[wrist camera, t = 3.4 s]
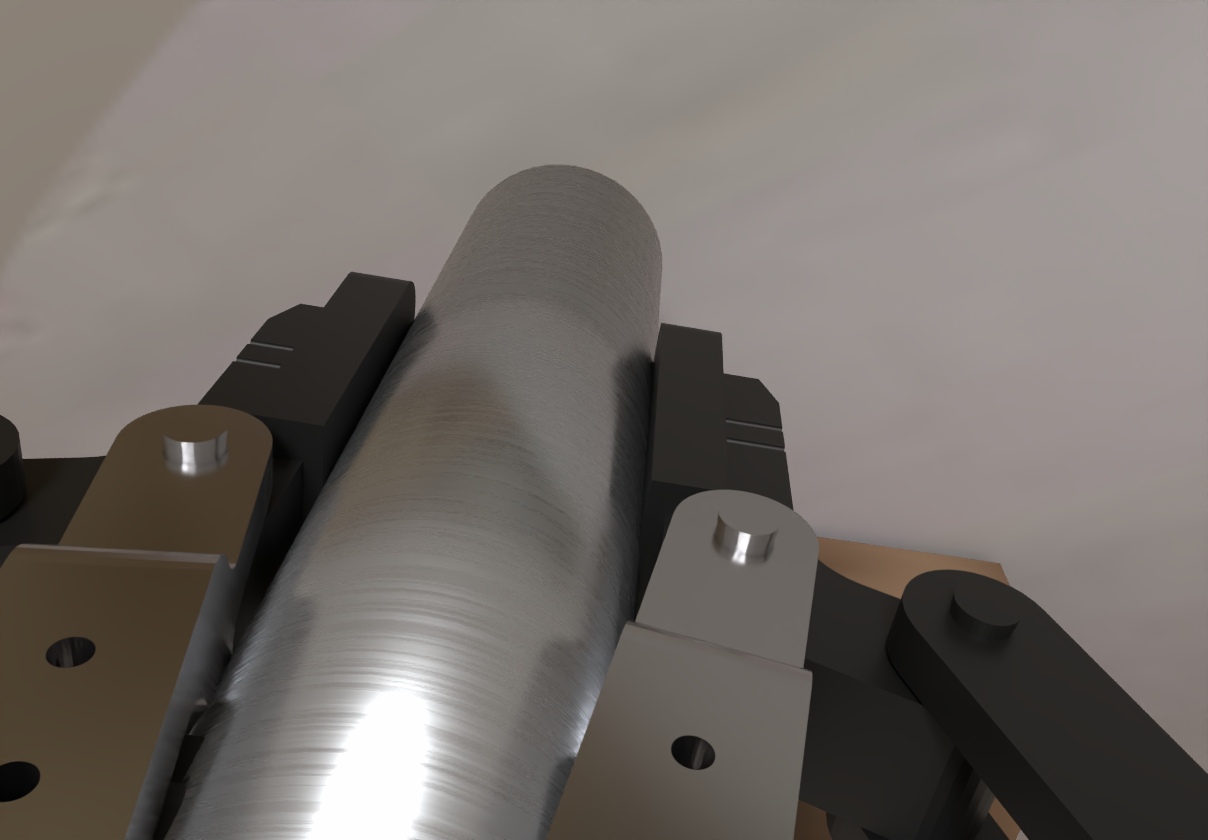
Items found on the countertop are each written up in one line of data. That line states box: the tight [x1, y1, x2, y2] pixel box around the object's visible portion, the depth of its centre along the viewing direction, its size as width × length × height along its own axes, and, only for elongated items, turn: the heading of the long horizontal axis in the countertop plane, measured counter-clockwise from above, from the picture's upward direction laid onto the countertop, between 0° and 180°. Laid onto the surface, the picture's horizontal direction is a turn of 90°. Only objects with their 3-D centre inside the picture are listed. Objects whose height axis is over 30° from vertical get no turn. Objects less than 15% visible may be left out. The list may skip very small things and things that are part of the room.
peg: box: [164, 165, 662, 840], centre depth 11 cm, size 3×3×12 cm
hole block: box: [793, 537, 1020, 840], centre depth 22 cm, size 14×8×4 cm, turn 82°
